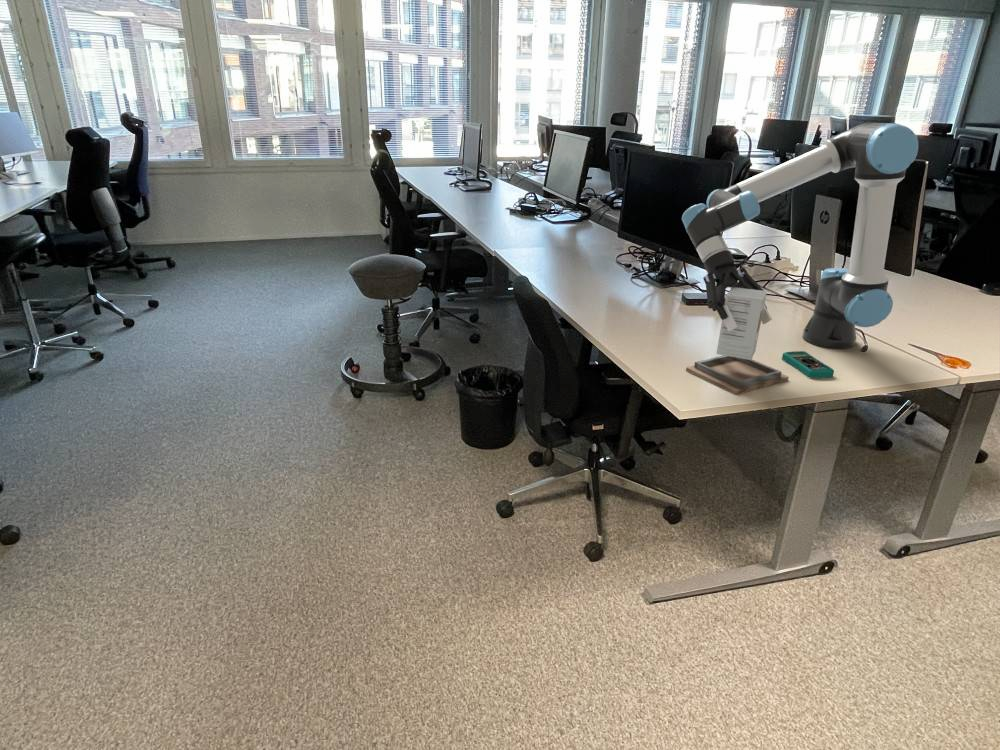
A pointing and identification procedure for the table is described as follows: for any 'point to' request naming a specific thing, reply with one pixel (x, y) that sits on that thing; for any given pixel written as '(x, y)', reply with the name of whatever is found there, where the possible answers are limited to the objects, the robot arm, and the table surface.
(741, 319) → the supplement box
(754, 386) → the carrier plate
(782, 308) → the table surface
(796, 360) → the digital multimeter
